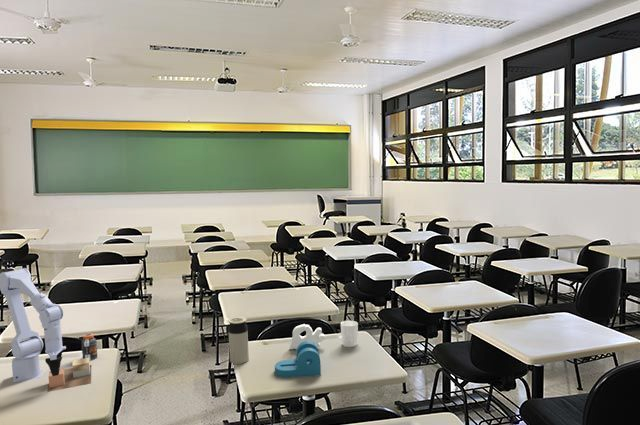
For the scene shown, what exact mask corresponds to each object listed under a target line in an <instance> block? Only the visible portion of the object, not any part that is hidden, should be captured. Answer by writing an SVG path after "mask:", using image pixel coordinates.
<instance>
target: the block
mask: <svg viewBox="0 0 640 425" xmlns="http://www.w3.org/2000/svg"><path fill="white" fill-rule="evenodd" d="M64 369H65V368H62V369H59V375H56V376H52V374H51V370H49V373H48V386H49V388H51V387H56V386H61V385H64V383H65V376H64Z"/></svg>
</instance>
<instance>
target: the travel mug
mask: <svg viewBox="0 0 640 425" xmlns="http://www.w3.org/2000/svg"><path fill="white" fill-rule="evenodd" d="M228 323H229V326H228V328H227V329H228V344H229V345H228V348H229V362H230V363H231V364H236V365H241V364H245V363H247V362H248V361H249V359H250V357H249V338H248V337H249V335H248V330H249V329H248V325H247V318H246V317H242V316H236V317H231V318H230V319H229V320H228Z"/></svg>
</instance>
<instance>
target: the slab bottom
mask: <svg viewBox="0 0 640 425" xmlns="http://www.w3.org/2000/svg"><path fill="white" fill-rule="evenodd" d="M86 375H90V367H89V369H85V370H80V371H75V372H73V378H75V377H80V376H86Z"/></svg>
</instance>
